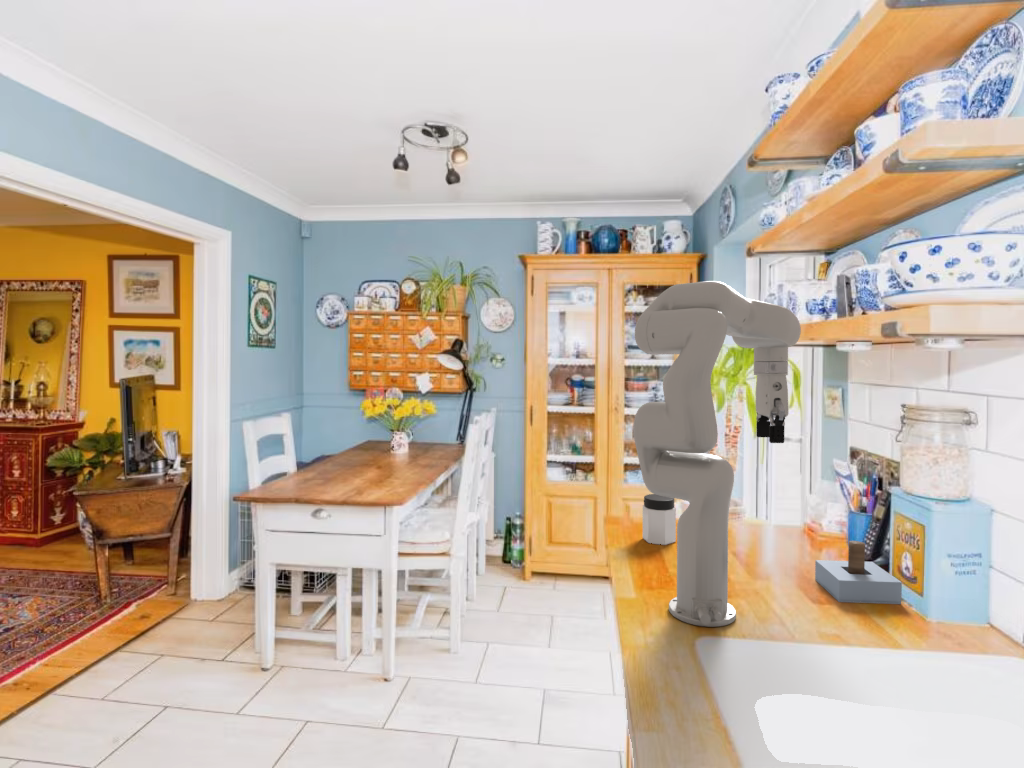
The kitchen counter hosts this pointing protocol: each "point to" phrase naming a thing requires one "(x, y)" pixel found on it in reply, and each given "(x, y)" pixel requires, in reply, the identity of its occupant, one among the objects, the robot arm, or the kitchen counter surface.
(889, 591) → the hole block
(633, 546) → the kitchen counter surface
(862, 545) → the peg
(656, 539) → the jar
